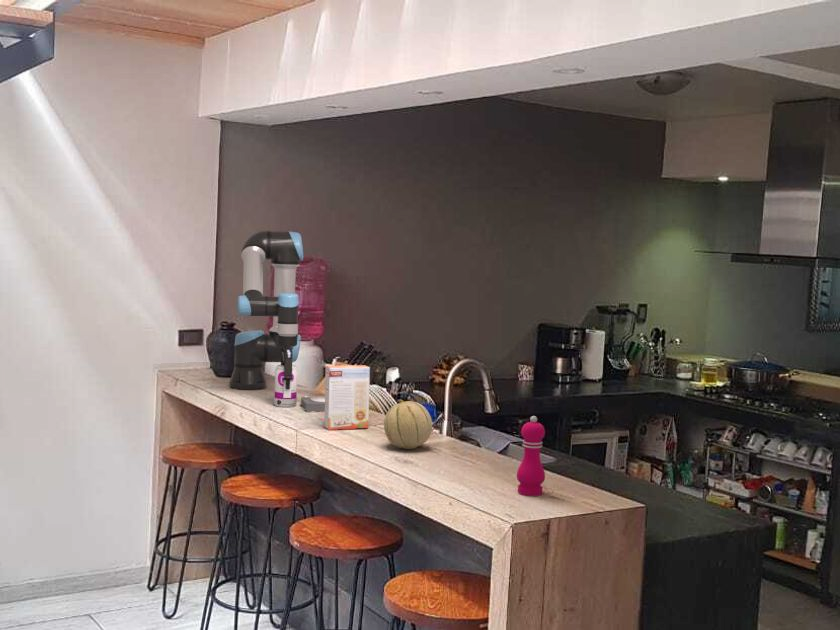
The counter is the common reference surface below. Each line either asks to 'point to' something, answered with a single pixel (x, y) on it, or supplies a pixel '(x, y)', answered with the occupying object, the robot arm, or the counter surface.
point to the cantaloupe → (407, 424)
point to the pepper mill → (531, 459)
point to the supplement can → (279, 387)
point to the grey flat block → (313, 403)
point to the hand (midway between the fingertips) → (285, 395)
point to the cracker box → (346, 397)
